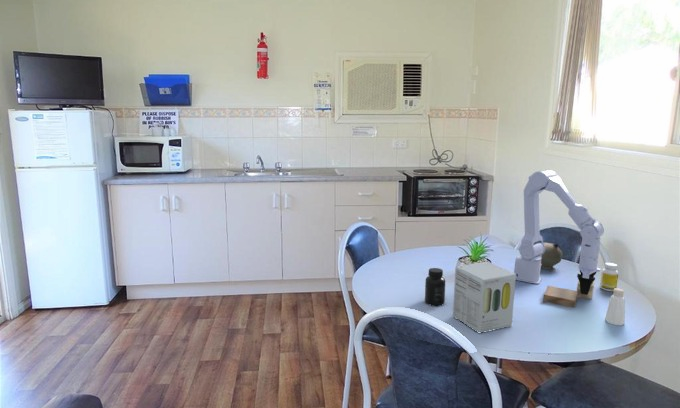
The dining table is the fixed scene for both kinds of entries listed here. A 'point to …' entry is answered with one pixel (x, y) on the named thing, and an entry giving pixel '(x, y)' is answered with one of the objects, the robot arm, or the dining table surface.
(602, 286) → the supplement bottle
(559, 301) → the walnut block
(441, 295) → the supplement bottle
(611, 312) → the salt shaker
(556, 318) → the dining table surface
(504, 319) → the supplement box
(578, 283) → the maple block
